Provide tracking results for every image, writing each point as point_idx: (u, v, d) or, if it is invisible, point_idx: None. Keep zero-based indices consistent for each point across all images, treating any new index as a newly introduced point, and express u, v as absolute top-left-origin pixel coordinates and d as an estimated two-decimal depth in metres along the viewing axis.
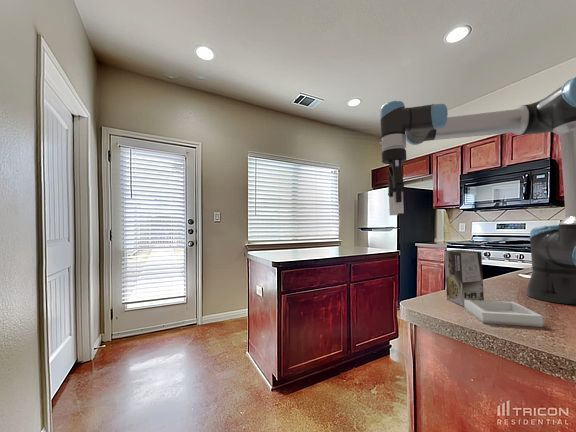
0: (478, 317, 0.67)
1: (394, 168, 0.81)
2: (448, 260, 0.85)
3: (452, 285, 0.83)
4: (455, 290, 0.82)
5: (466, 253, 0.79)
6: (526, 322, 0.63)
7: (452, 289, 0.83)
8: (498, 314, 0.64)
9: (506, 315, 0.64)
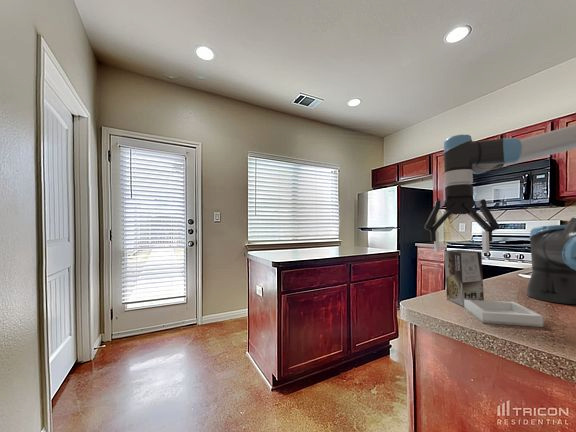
0: (478, 317, 0.67)
1: (433, 209, 0.87)
2: (448, 260, 0.85)
3: (452, 285, 0.83)
4: (455, 290, 0.82)
5: (466, 253, 0.79)
6: (526, 322, 0.63)
7: (452, 289, 0.83)
8: (498, 314, 0.64)
9: (506, 315, 0.64)
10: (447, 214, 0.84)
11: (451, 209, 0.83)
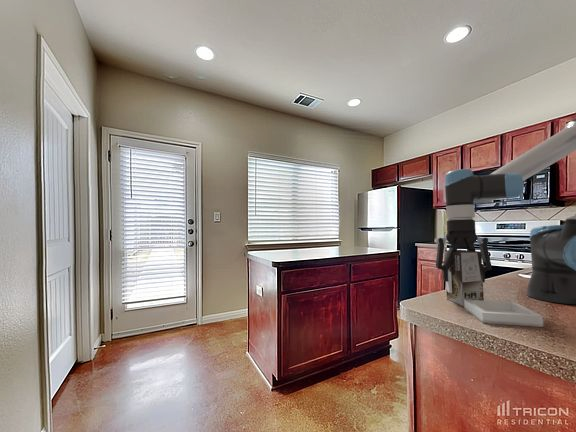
0: (478, 317, 0.67)
1: (438, 246, 0.86)
2: None
3: (452, 285, 0.83)
4: (455, 290, 0.82)
5: (466, 253, 0.79)
6: (526, 322, 0.63)
7: (452, 289, 0.83)
8: (498, 314, 0.64)
9: (506, 315, 0.64)
10: (453, 251, 0.83)
11: (455, 245, 0.82)
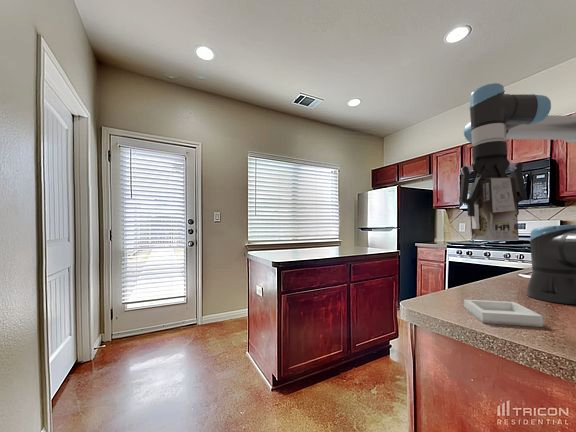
0: (478, 317, 0.67)
1: None
2: None
3: (479, 220, 0.71)
4: (482, 225, 0.70)
5: (497, 179, 0.67)
6: (526, 322, 0.63)
7: (479, 225, 0.71)
8: (498, 314, 0.64)
9: (506, 315, 0.64)
10: (481, 180, 0.71)
11: (483, 173, 0.71)
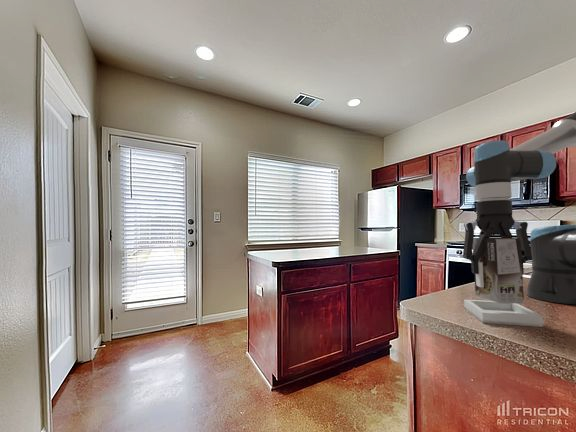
0: (478, 317, 0.67)
1: (465, 233, 0.73)
2: None
3: (484, 278, 0.70)
4: (487, 284, 0.69)
5: (502, 239, 0.66)
6: (526, 322, 0.63)
7: (484, 283, 0.70)
8: (498, 314, 0.64)
9: (506, 315, 0.64)
10: None
11: (488, 231, 0.69)
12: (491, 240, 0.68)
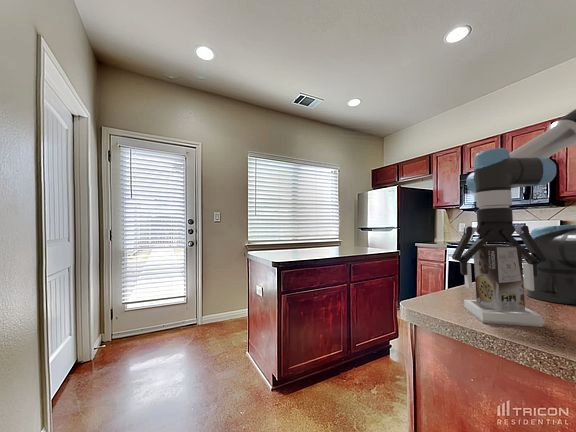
0: (478, 317, 0.67)
1: (462, 236, 0.73)
2: (479, 256, 0.72)
3: (485, 286, 0.70)
4: (488, 292, 0.69)
5: (503, 248, 0.66)
6: (526, 322, 0.63)
7: (485, 291, 0.70)
8: (498, 314, 0.64)
9: (506, 315, 0.64)
10: (481, 243, 0.70)
11: (486, 237, 0.69)
12: (492, 248, 0.67)
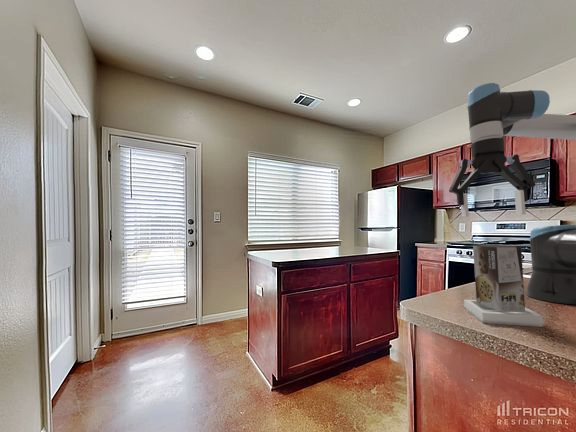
0: (478, 317, 0.67)
1: (458, 170, 0.77)
2: (479, 256, 0.72)
3: (485, 286, 0.70)
4: (488, 292, 0.69)
5: (503, 248, 0.66)
6: (526, 322, 0.63)
7: (485, 291, 0.70)
8: (498, 314, 0.64)
9: (506, 315, 0.64)
10: (476, 173, 0.74)
11: (480, 167, 0.74)
12: (492, 248, 0.67)
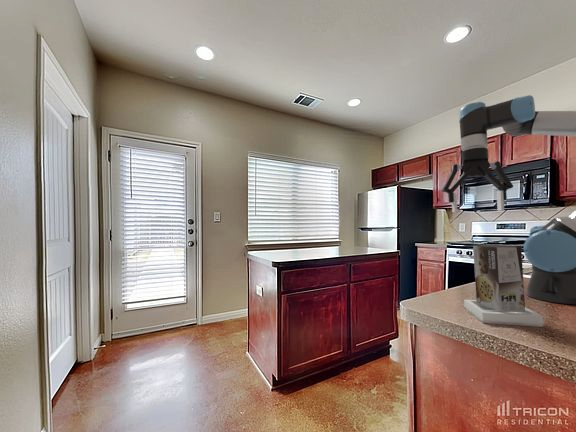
0: (478, 317, 0.67)
1: (450, 173, 0.94)
2: (479, 256, 0.72)
3: (485, 286, 0.70)
4: (488, 292, 0.69)
5: (503, 248, 0.66)
6: (526, 322, 0.63)
7: (485, 291, 0.70)
8: (498, 314, 0.64)
9: (506, 315, 0.64)
10: (464, 176, 0.91)
11: (468, 171, 0.90)
12: (492, 248, 0.67)
